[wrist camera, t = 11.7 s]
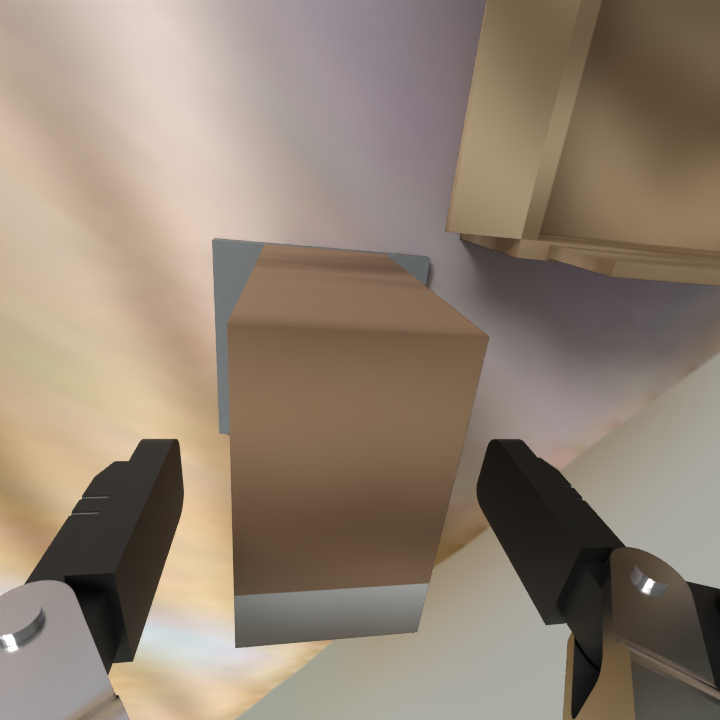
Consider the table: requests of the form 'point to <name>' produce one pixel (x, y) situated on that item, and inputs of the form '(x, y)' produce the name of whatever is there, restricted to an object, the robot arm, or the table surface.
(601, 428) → the table surface
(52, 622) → the robot arm
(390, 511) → the walnut block
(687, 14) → the kraft carton
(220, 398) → the felt mat
